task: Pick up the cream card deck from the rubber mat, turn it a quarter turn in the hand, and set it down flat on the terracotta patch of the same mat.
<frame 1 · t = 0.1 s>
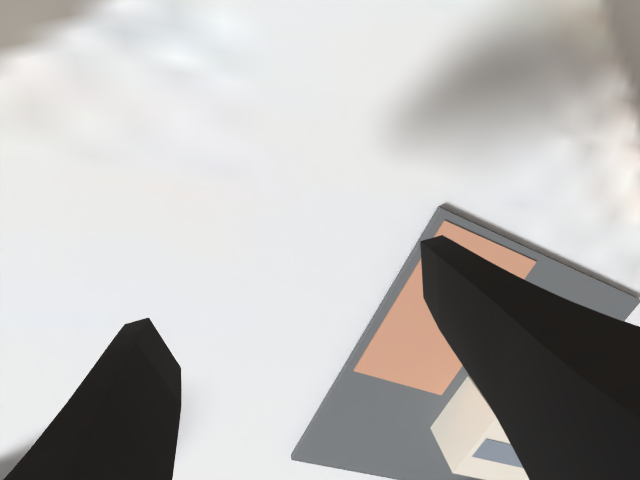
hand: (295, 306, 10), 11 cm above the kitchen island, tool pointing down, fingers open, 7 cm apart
mat: (461, 377, 27), on the kitchen island
card deck: (491, 414, 29), resting on mat
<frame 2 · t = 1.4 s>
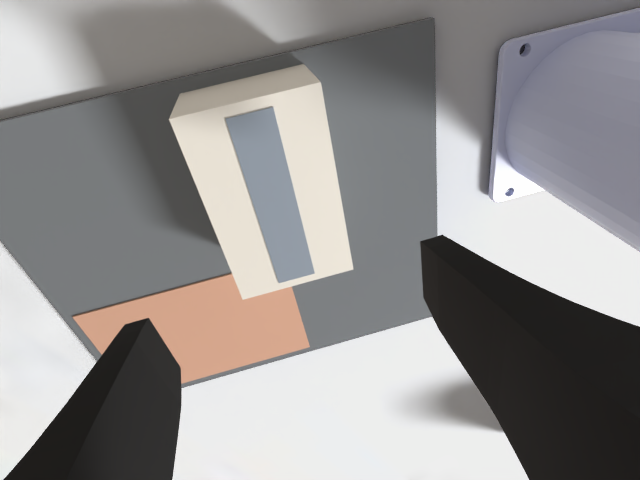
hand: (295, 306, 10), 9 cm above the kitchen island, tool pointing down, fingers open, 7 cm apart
mat: (249, 247, 20), on the kitchen island
card deck: (268, 170, 18), resting on mat
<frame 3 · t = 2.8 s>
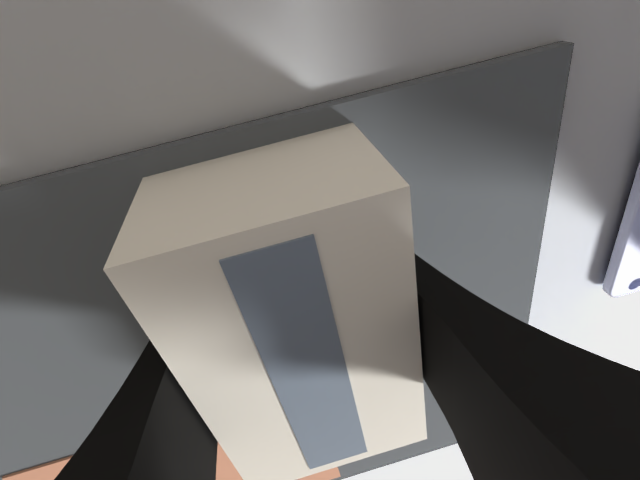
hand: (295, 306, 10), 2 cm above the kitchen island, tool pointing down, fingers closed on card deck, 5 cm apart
mat: (260, 371, 14), on the kitchen island
card deck: (289, 278, 11), resting on mat, touching gripper
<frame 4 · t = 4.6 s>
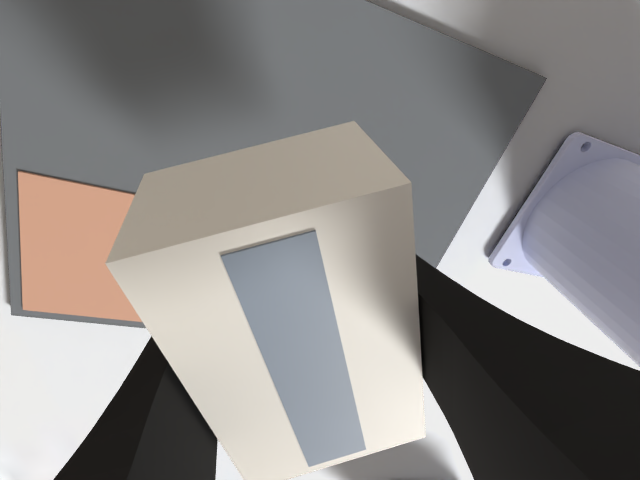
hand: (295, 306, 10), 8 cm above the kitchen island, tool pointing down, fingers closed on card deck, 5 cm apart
mat: (268, 196, 18), on the kitchen island
card deck: (289, 276, 11), point 7 cm above the kitchen island, touching gripper
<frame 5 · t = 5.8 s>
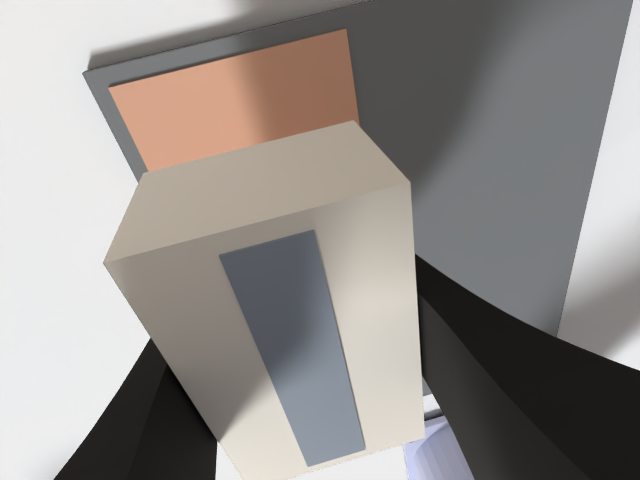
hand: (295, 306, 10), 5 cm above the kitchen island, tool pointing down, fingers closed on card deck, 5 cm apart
mat: (398, 261, 17), on the kitchen island
card deck: (289, 275, 11), point 4 cm above the kitchen island, touching gripper
when the fingers open (3 cm above the kitchen island, at t = 6.7 s): card deck drops 1 cm, resting on mat.
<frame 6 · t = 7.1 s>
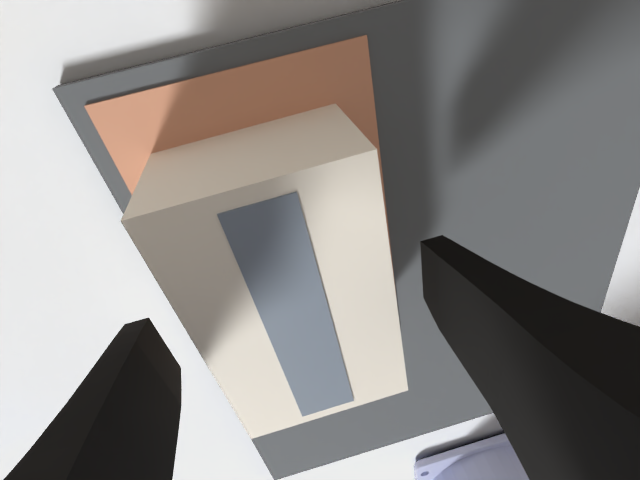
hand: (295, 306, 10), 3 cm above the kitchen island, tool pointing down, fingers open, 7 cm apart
mat: (416, 291, 16), on the kitchen island
card deck: (283, 248, 13), resting on mat
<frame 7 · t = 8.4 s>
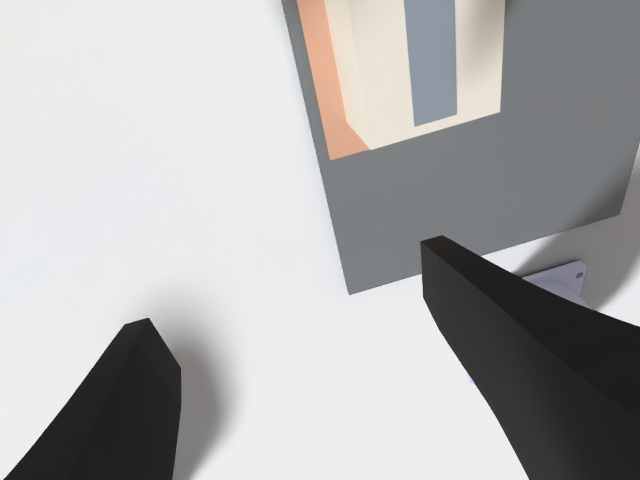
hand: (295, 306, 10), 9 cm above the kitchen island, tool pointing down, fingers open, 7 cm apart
mat: (490, 78, 18), on the kitchen island
card deck: (390, 2, 15), resting on mat
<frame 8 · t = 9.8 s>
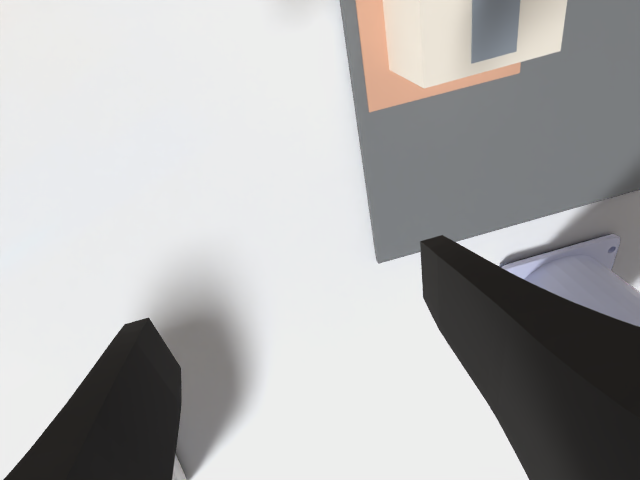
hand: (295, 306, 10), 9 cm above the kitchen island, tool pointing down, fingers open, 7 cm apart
mat: (537, 29, 17), on the kitchen island
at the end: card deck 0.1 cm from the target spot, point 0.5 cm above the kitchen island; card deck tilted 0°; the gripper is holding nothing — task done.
